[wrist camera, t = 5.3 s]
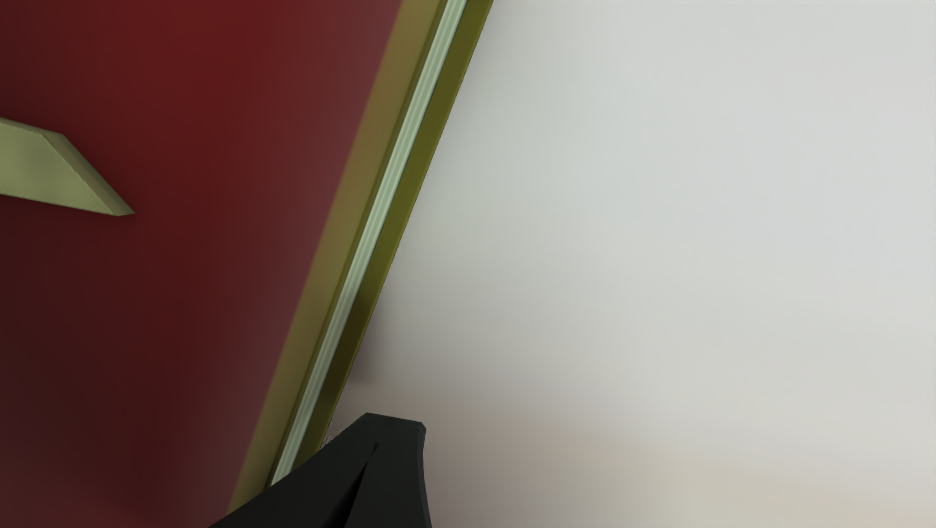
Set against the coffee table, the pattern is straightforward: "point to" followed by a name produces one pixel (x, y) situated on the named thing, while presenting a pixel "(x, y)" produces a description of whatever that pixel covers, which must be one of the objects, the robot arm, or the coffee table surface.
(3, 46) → the hardcover book
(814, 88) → the coffee table surface
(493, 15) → the coffee table surface
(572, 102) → the coffee table surface
